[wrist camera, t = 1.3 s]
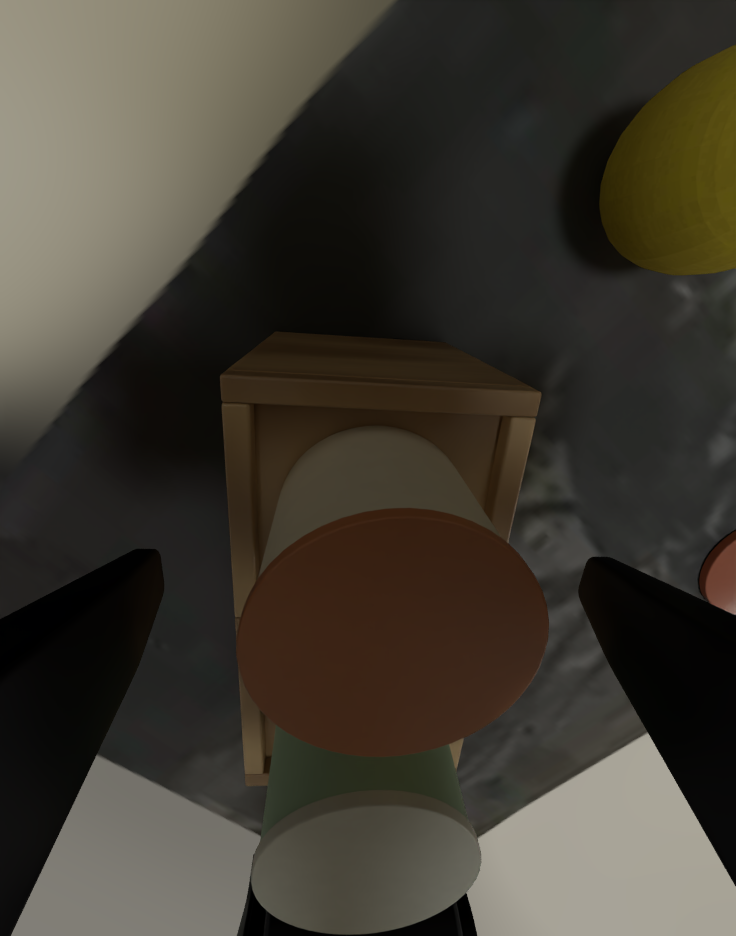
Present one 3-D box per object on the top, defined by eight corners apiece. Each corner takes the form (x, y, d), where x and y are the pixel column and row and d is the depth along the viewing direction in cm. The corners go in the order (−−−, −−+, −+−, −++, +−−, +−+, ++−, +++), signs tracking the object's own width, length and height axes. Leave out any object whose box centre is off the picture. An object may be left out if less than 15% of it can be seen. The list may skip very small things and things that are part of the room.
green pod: (426, 744, 15) (462, 928, 11) (278, 748, 14) (254, 941, 10) (446, 631, 13) (501, 801, 9) (276, 631, 12) (245, 810, 8)
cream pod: (453, 593, 12) (515, 754, 8) (275, 591, 12) (242, 761, 8) (483, 425, 10) (586, 521, 6) (272, 415, 10) (226, 511, 6)
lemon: (683, 273, 17) (935, 264, 10) (550, 280, 17) (709, 277, 10) (720, 102, 15) (1075, -66, 8) (568, 108, 15) (789, -60, 8)
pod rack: (411, 601, 23) (454, 780, 15) (278, 600, 22) (245, 787, 14) (446, 342, 18) (543, 392, 10) (275, 331, 17) (218, 374, 9)
